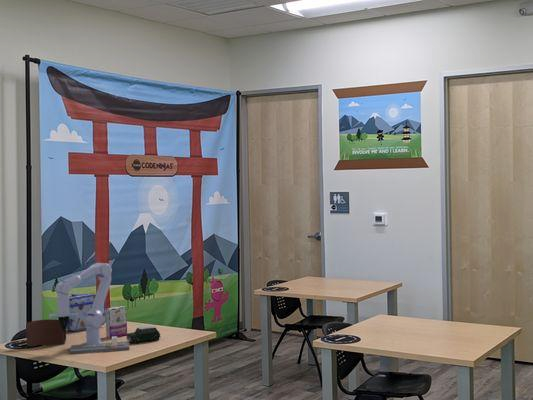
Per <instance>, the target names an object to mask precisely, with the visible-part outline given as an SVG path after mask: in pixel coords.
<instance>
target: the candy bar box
mask: <svg viewBox="0 0 533 400" xmlns="http://www.w3.org/2000/svg"><path fill="white" fill-rule="evenodd" d="M105 318H106V322H105V334H106V338H108V339H112V337H114V336H117V338H119V337H123V336H126V335H127V334H128V321H127V307H126V306H125V305H121V306H113V307H109V308H106V309H105Z"/></svg>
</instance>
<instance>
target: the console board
mask: <svg viewBox="0 0 533 400" xmlns="http://www.w3.org/2000/svg"><path fill="white" fill-rule="evenodd" d="M119 351H130V341H128V340H126V341H117V346H112V342H101V343H98V344H86V343H85V344H73V345H71V346H70V347H69V351H68V352H69V355H77V354H90V353H91V354H92V353H101V352H103V353H104V352H119Z"/></svg>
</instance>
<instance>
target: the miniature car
mask: <svg viewBox="0 0 533 400" xmlns="http://www.w3.org/2000/svg"><path fill="white" fill-rule="evenodd" d="M125 336H126V338H125V339H126V341H129V342H132V343H133V344H134V345H137V344H139V343H138V342H141V341H142V342H143V341H148V340H149V341H150V340H154V342H158V341H159V340H160V338H161V333H160V331H159V330H158V329H157V328H156V326H154V325H141V326H138V327H137V328H136V329H135V331H134V332H127V335H125ZM157 340H158V341H157Z"/></svg>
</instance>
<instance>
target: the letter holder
mask: <svg viewBox="0 0 533 400" xmlns="http://www.w3.org/2000/svg"><path fill="white" fill-rule="evenodd" d="M25 329H26V331H25V332H26V333H25V335H26V347H27V346H30V347H37V346H36V345H46V346H58V345H59V346H60V345H65V344H66V341H67V331H66V332H63V329H62V326H61V324H60V322H59V320H58V319H54V318H51V319H49V318H48V319H37V320H31V321H28V322H26V324H25ZM32 345H33V346H32Z"/></svg>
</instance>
